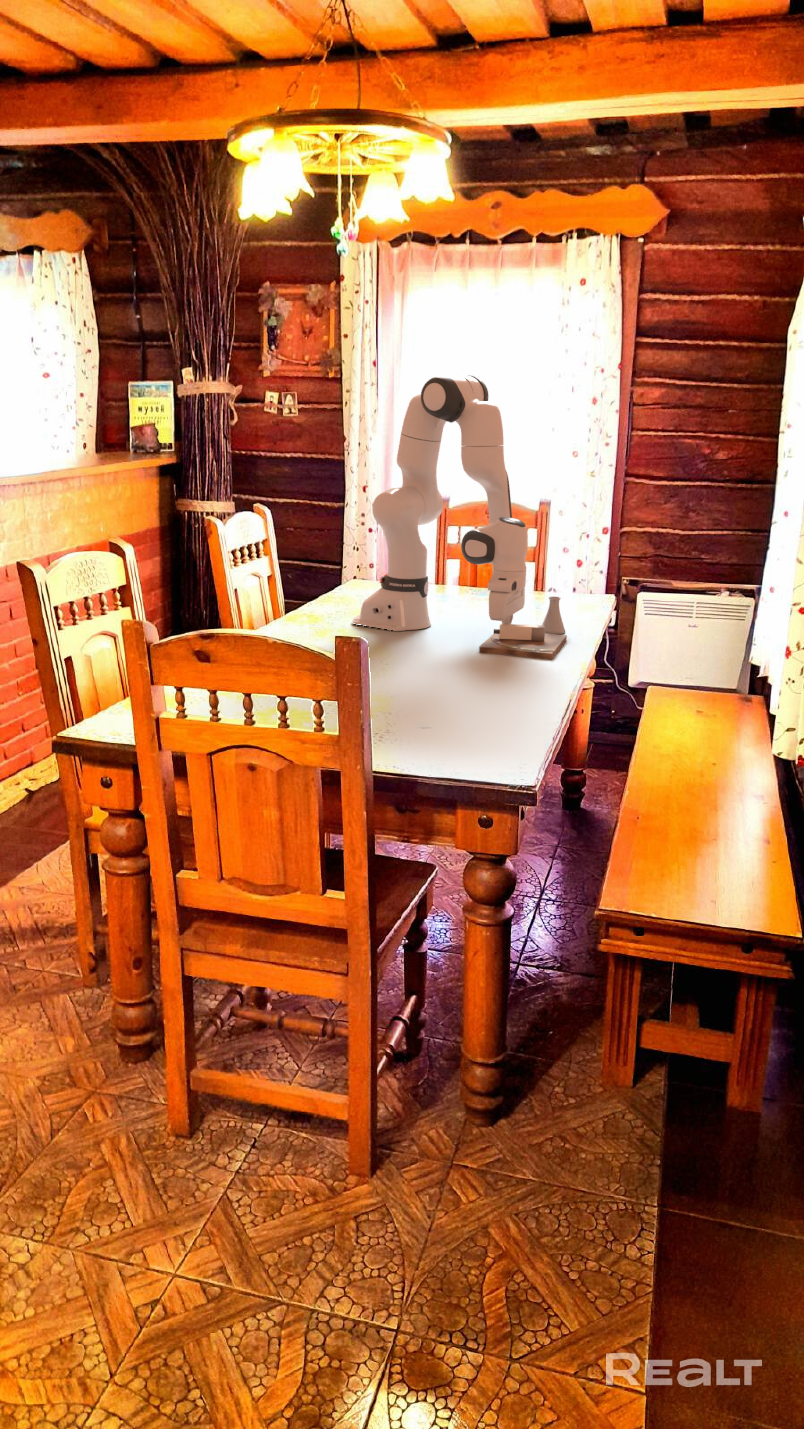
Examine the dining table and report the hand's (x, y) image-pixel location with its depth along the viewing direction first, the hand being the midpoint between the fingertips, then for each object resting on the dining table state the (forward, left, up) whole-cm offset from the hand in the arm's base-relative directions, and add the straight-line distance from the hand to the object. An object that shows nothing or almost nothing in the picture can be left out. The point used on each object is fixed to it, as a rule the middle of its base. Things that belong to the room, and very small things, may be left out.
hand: (506, 630), depth 280 cm
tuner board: (+5, -3, -3) cm, 7 cm away
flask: (+9, +17, -3) cm, 20 cm away
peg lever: (+4, -2, -1) cm, 4 cm away
